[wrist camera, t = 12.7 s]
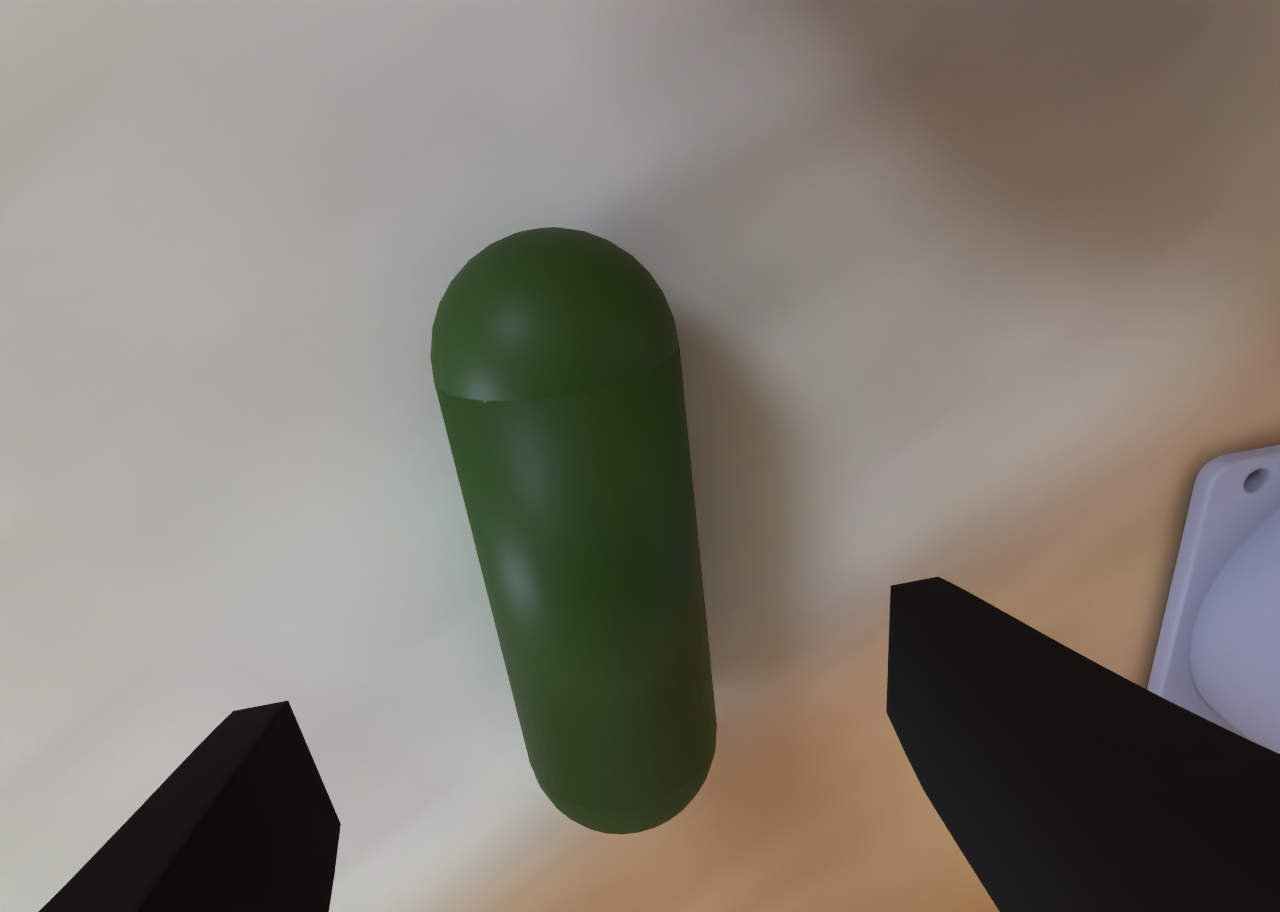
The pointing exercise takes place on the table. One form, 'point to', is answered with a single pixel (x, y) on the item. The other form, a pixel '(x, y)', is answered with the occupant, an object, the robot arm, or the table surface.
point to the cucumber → (583, 518)
